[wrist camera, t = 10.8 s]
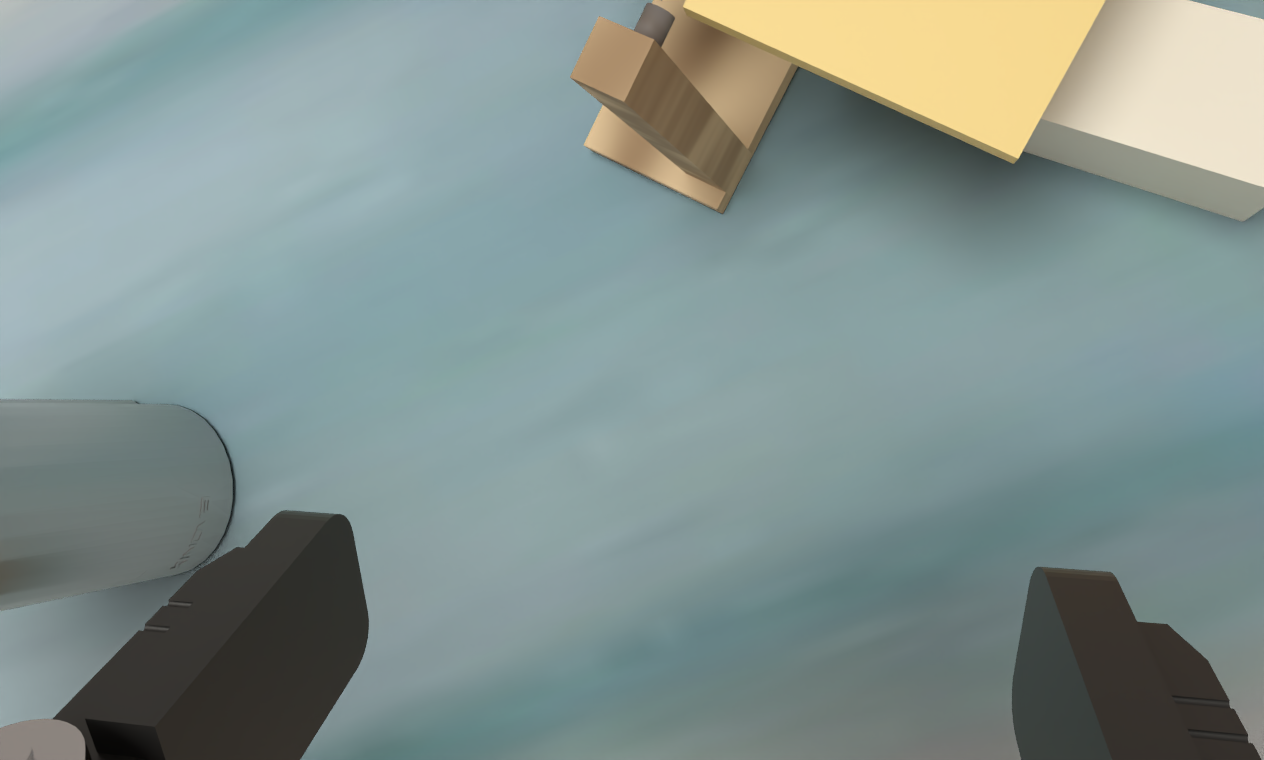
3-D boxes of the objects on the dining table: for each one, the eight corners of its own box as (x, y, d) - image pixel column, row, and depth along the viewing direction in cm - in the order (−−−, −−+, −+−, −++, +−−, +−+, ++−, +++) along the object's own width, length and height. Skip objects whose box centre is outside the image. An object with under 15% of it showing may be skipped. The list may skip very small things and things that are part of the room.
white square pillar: (977, 99, 33) (1284, 193, 30) (1038, -38, 33) (1357, 43, 30) (976, 137, 38) (1241, 223, 35) (1029, 18, 37) (1304, 93, 34)
